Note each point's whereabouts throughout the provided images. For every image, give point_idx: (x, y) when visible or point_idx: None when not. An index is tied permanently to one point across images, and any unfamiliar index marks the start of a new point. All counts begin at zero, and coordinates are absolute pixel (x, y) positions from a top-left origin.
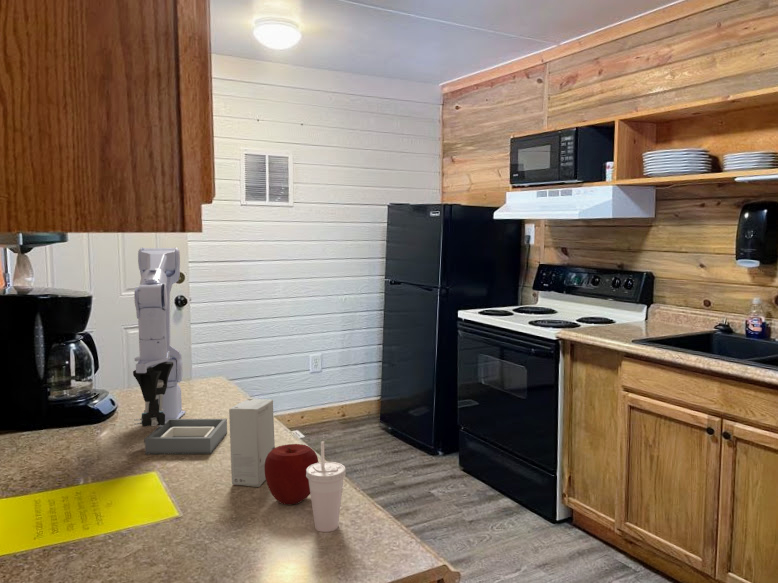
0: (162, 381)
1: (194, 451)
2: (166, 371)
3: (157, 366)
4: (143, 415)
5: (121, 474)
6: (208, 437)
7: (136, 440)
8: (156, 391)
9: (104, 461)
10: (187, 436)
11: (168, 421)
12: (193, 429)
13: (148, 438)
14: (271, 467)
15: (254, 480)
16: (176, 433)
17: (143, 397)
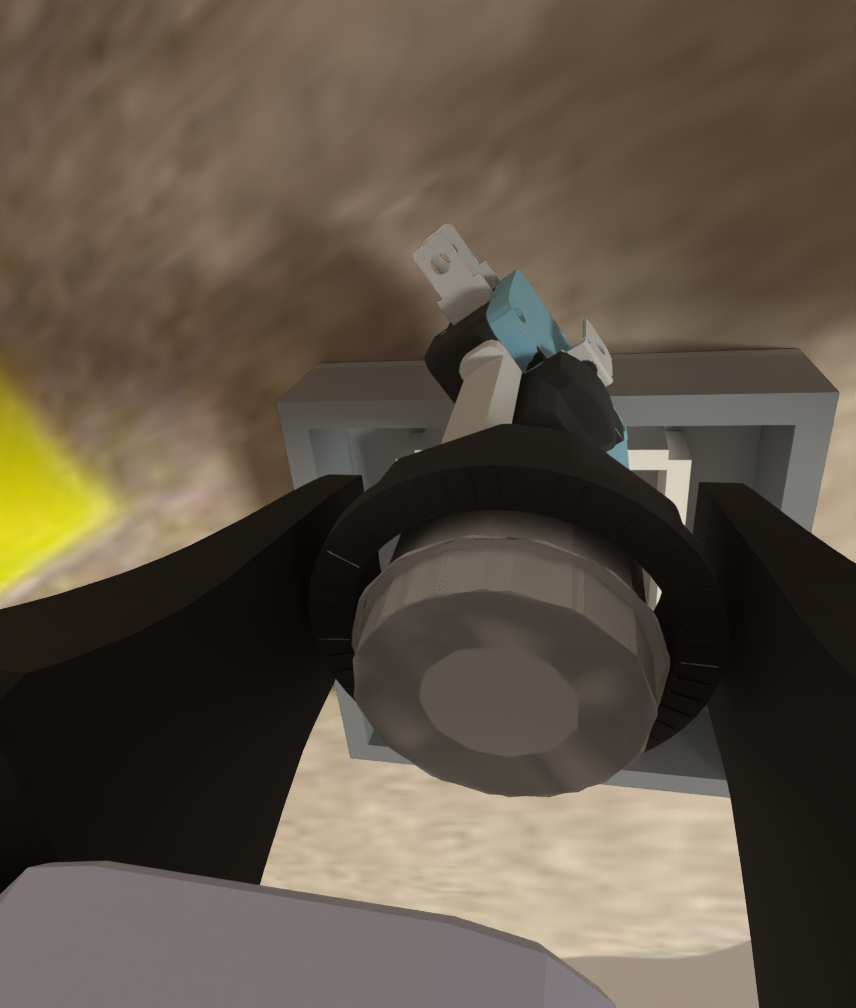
0: (532, 789)
1: None
2: (761, 970)
3: (838, 988)
4: (444, 350)
5: (26, 357)
6: (361, 750)
7: (623, 138)
8: (334, 677)
9: (149, 126)
10: None
11: (754, 423)
12: (655, 598)
13: (283, 428)
14: None
15: None
16: (659, 470)
17: (300, 487)
